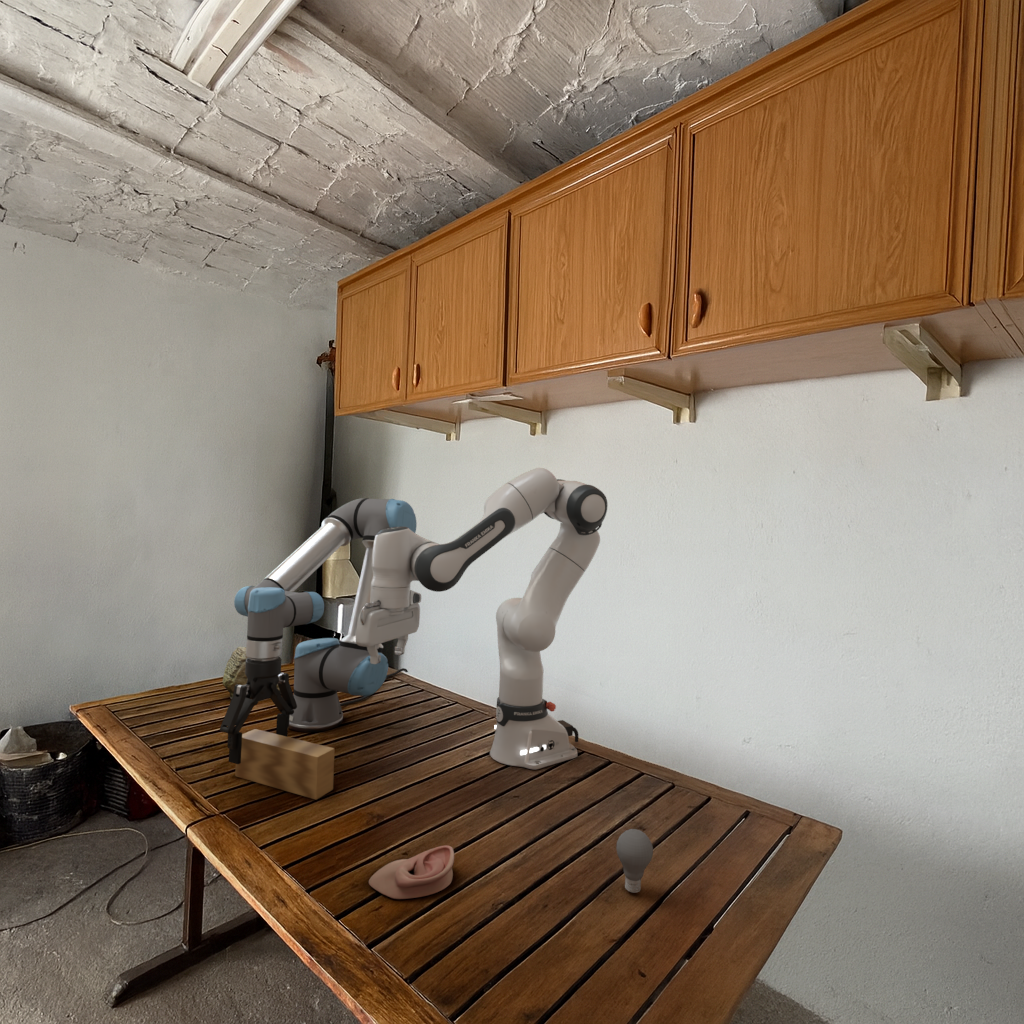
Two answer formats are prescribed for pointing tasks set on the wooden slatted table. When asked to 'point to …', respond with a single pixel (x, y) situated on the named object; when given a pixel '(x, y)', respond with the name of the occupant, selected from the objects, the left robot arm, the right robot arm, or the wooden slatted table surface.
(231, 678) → the fossil
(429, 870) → the anatomical model
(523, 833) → the wooden slatted table surface
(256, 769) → the bar
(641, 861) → the light bulb
